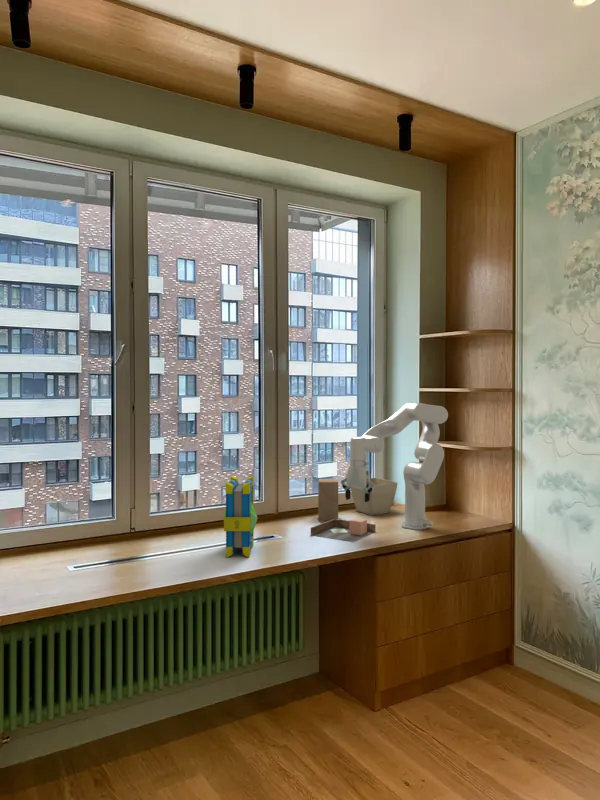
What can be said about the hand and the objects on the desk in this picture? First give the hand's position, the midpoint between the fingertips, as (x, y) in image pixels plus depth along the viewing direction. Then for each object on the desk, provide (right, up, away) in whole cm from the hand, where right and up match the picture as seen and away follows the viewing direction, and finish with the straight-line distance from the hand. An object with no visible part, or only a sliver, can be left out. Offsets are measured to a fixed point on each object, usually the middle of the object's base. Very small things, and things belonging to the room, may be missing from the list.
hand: (357, 500), depth 284 cm
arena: (-6, -16, -1) cm, 17 cm away
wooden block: (-12, -15, +31) cm, 37 cm away
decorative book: (-51, -17, -28) cm, 61 cm away
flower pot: (+13, -14, +48) cm, 52 cm away
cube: (0, -15, +1) cm, 15 cm away
